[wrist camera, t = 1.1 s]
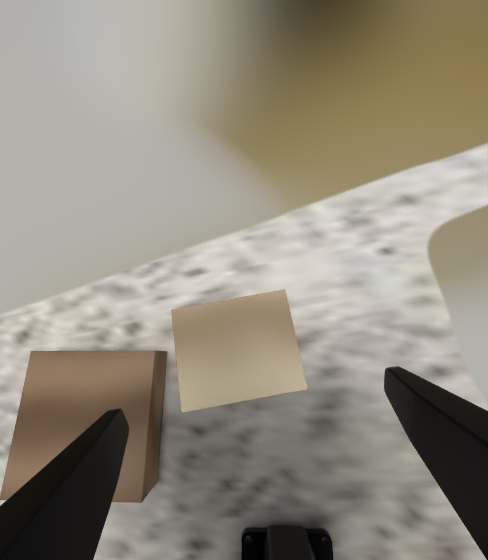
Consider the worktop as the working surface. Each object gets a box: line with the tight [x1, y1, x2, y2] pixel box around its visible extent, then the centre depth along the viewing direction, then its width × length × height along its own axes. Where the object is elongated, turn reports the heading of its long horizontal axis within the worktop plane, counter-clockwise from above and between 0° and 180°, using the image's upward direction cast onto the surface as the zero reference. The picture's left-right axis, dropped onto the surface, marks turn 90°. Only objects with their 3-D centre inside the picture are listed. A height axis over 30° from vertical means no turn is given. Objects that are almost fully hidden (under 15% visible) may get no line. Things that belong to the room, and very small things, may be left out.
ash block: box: [171, 289, 308, 412], centre depth 18 cm, size 4×6×12 cm
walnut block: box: [0, 351, 167, 503], centre depth 21 cm, size 10×10×4 cm
